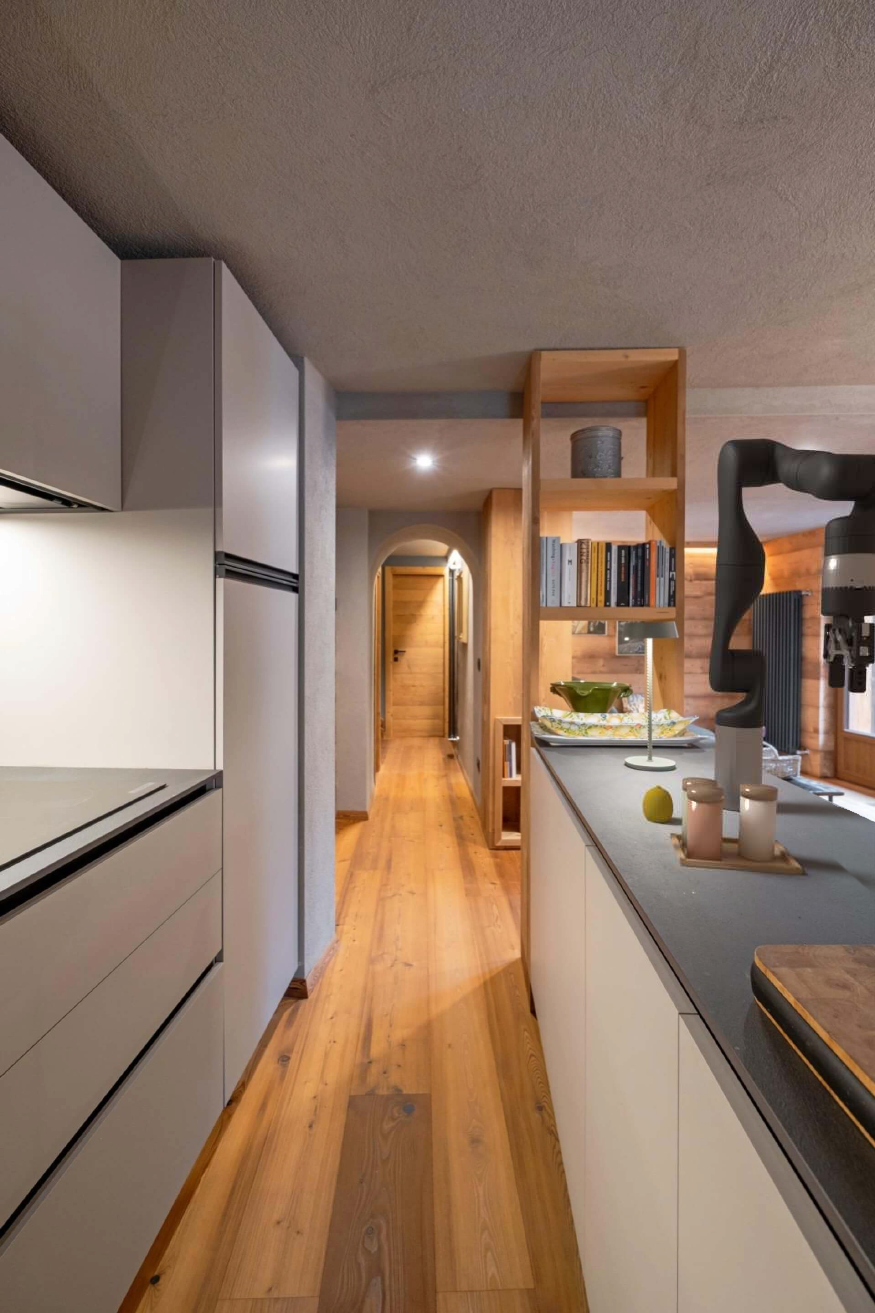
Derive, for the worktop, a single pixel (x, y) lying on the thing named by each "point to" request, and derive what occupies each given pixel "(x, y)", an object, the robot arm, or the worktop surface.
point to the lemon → (658, 805)
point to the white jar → (757, 821)
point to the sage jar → (685, 784)
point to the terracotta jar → (704, 822)
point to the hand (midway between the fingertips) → (846, 690)
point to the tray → (739, 858)
